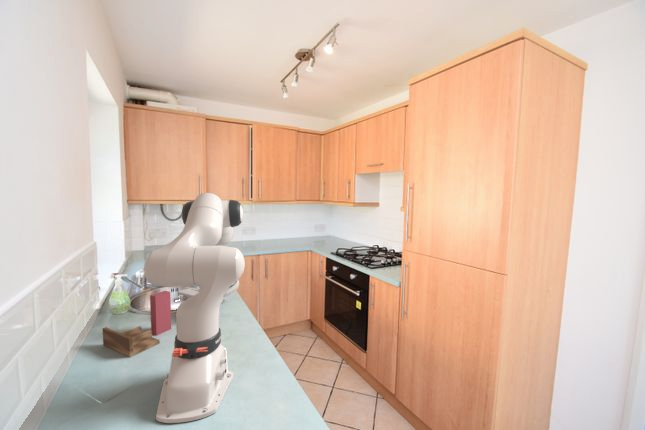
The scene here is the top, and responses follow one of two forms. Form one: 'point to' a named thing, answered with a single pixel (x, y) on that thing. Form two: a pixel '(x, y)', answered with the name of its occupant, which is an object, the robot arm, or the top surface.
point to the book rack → (129, 341)
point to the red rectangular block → (160, 312)
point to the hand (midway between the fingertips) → (182, 302)
